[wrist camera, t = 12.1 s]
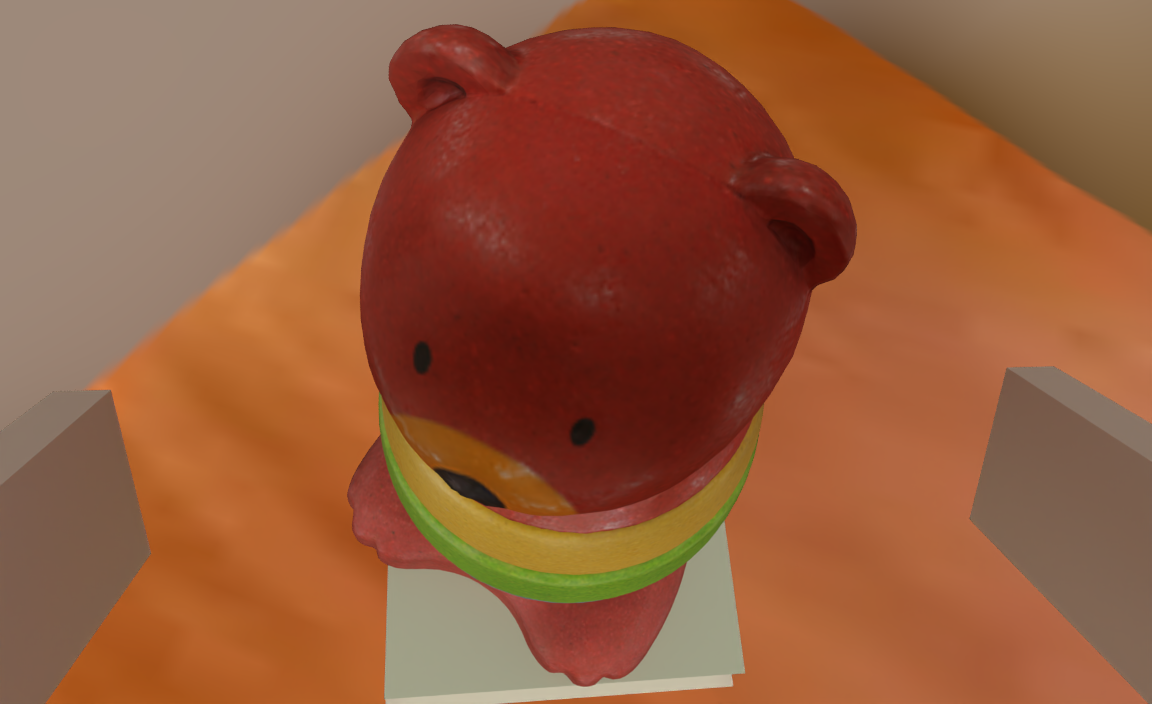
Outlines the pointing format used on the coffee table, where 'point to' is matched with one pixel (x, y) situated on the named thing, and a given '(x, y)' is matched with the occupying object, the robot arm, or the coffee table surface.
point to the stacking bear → (578, 322)
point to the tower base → (504, 661)
